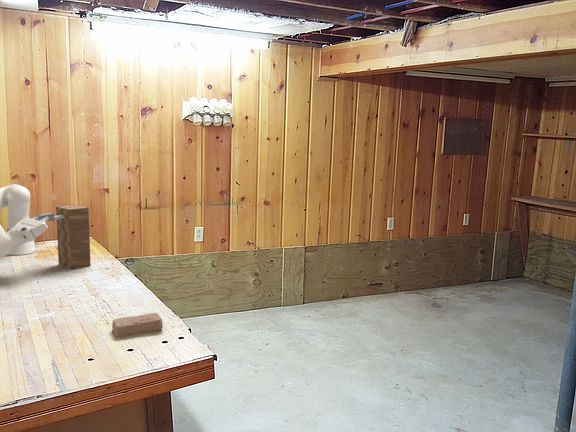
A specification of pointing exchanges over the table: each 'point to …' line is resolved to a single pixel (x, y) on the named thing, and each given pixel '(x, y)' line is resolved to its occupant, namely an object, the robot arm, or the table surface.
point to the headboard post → (73, 236)
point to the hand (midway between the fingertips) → (44, 216)
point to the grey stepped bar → (50, 216)
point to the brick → (137, 324)
